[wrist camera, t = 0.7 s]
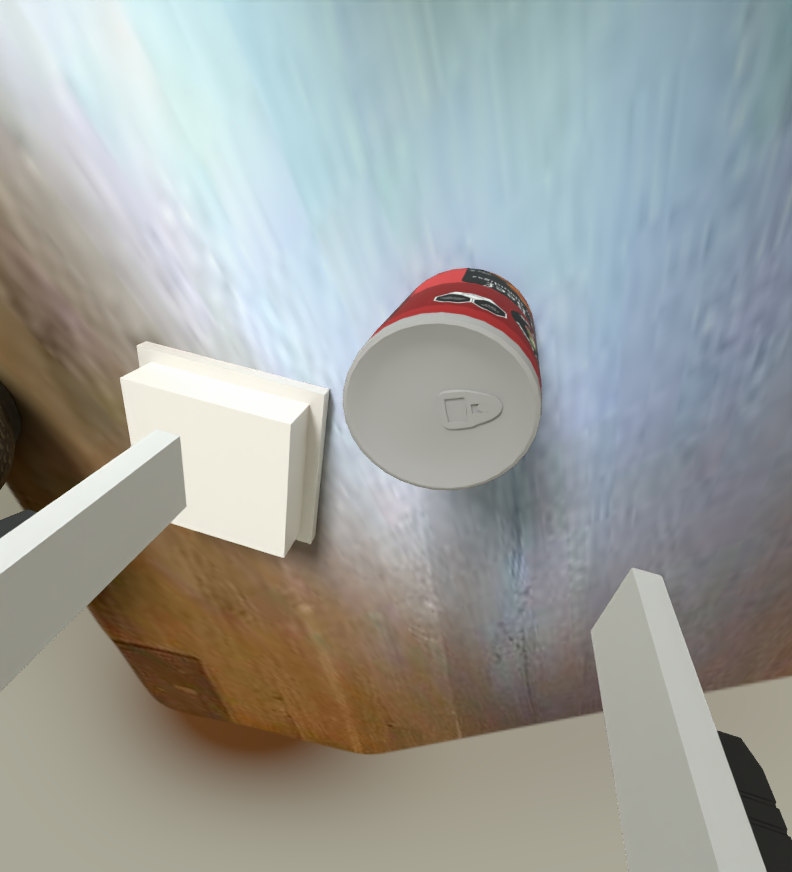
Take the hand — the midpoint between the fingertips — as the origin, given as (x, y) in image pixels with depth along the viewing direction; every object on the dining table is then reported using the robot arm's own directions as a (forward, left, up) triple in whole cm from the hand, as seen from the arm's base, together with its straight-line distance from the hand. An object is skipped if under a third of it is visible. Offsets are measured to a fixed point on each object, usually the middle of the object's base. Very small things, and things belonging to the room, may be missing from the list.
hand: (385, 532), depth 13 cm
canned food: (-1, 0, -17) cm, 17 cm away
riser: (+12, -15, -17) cm, 26 cm away
